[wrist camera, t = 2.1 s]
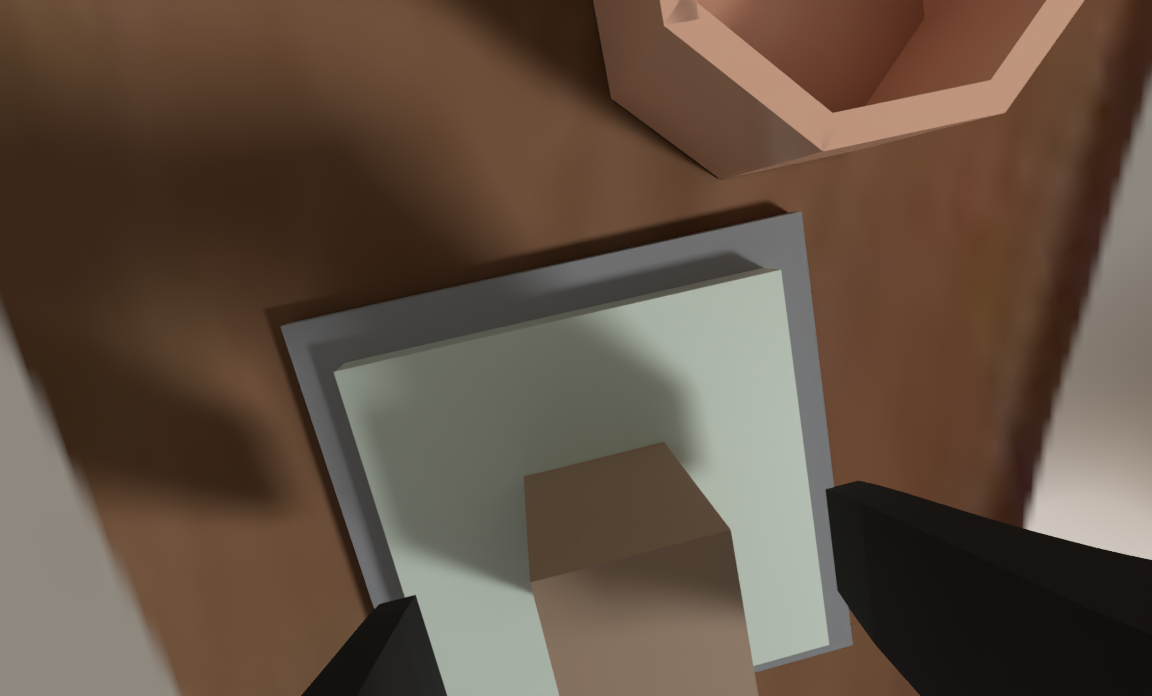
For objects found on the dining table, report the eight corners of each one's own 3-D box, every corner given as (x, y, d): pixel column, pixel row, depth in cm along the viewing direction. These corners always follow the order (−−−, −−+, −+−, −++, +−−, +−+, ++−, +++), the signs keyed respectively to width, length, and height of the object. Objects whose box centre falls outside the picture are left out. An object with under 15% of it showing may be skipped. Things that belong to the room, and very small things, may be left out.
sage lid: (811, 621, 14) (946, 793, 10) (457, 720, 13) (431, 951, 9) (763, 267, 12) (905, 283, 8) (345, 362, 11) (245, 438, 7)
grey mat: (841, 631, 15) (852, 645, 14) (429, 746, 14) (426, 765, 13) (790, 212, 12) (801, 211, 12) (290, 322, 12) (280, 326, 11)
